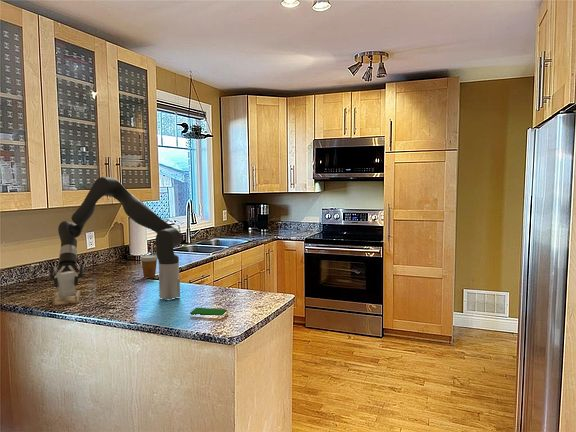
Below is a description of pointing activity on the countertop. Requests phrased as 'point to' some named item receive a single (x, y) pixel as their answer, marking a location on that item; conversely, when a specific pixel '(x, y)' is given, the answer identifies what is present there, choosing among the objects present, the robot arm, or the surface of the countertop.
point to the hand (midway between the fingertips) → (66, 285)
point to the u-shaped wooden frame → (65, 299)
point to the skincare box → (66, 284)
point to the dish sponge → (208, 311)
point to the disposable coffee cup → (149, 265)
